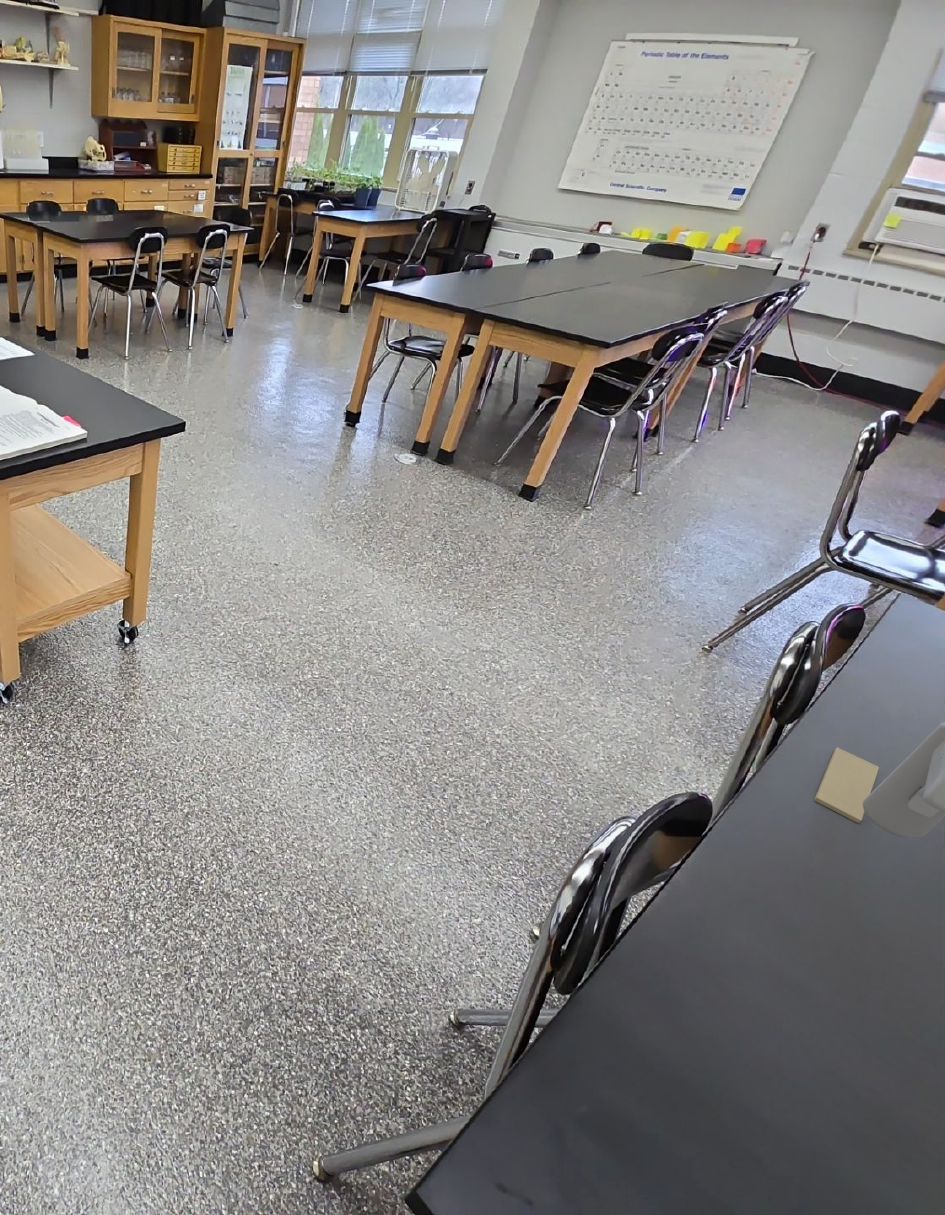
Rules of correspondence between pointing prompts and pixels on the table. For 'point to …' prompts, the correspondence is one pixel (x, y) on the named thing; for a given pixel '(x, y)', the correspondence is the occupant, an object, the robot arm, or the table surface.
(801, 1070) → the table surface
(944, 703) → the robot arm
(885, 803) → the beverage can
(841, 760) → the napkin
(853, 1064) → the table surface
